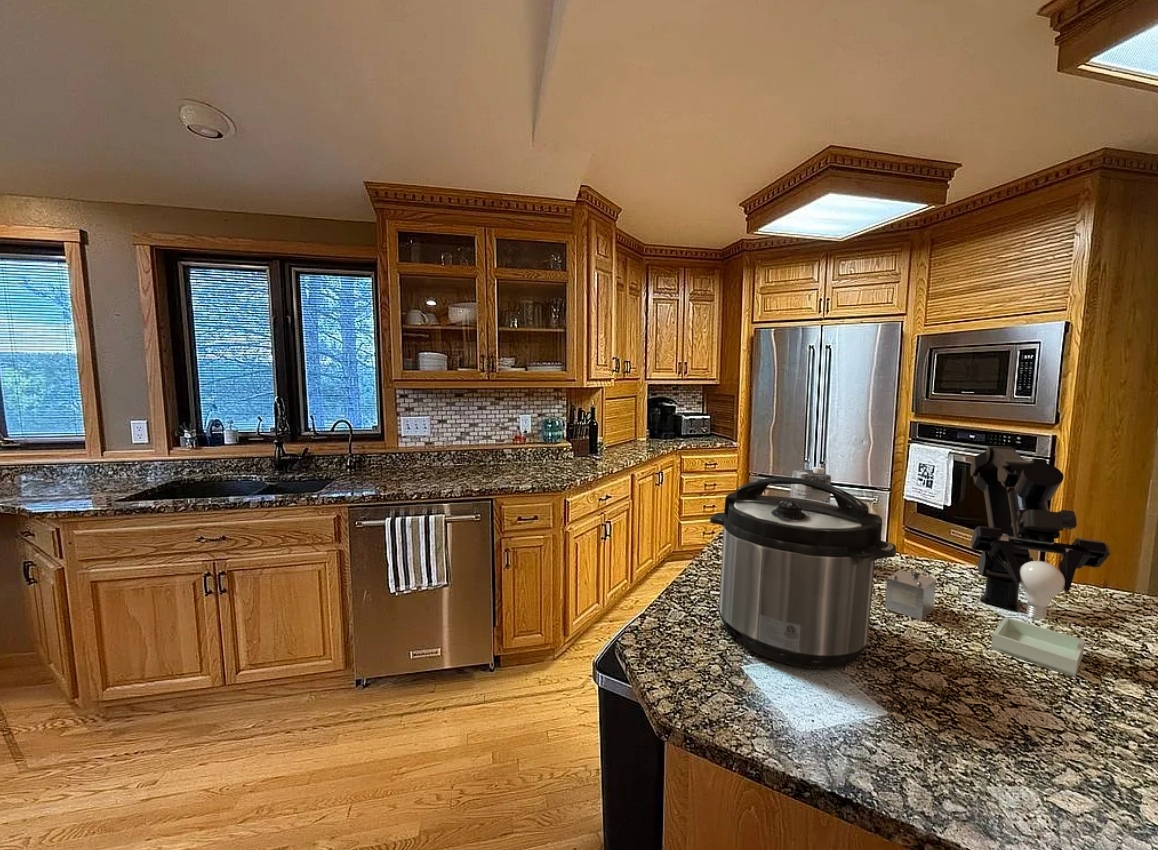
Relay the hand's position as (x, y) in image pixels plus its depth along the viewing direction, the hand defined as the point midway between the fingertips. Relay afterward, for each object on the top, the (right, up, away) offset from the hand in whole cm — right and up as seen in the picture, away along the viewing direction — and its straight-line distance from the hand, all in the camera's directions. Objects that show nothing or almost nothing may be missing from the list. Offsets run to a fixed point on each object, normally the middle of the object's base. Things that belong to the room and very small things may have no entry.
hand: (1042, 587), depth 88 cm
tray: (+1, -13, +2) cm, 13 cm away
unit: (-11, -11, +19) cm, 25 cm away
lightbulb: (+1, -7, +2) cm, 7 cm away
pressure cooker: (-43, -12, +8) cm, 46 cm away
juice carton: (-20, -9, +49) cm, 54 cm away
